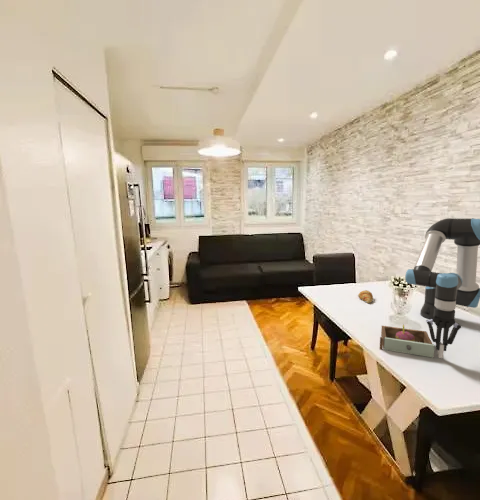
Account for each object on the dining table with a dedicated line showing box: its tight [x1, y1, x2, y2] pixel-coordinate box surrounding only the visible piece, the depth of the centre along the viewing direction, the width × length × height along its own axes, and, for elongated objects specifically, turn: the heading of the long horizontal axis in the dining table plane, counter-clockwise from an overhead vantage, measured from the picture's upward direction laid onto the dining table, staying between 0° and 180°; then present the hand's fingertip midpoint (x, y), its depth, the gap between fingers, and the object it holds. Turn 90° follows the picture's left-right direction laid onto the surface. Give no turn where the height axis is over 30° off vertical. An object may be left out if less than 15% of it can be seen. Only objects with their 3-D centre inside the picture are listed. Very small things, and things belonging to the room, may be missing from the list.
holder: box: [379, 325, 433, 350], centre depth 136 cm, size 22×16×6 cm
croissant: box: [357, 289, 374, 304], centre depth 204 cm, size 21×10×8 cm, turn 168°
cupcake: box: [396, 323, 415, 341], centre depth 136 cm, size 9×8×12 cm
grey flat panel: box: [383, 337, 436, 359], centre depth 128 cm, size 20×3×6 cm, turn 66°
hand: (440, 356), depth 123 cm, fingers closed
